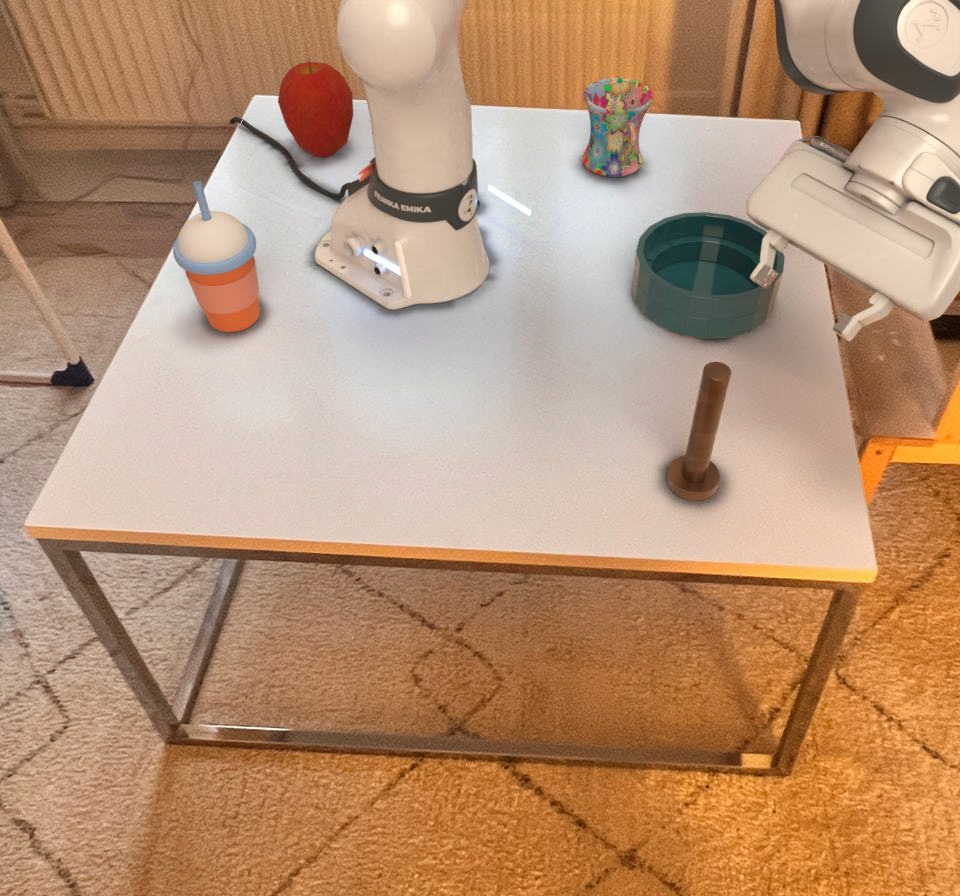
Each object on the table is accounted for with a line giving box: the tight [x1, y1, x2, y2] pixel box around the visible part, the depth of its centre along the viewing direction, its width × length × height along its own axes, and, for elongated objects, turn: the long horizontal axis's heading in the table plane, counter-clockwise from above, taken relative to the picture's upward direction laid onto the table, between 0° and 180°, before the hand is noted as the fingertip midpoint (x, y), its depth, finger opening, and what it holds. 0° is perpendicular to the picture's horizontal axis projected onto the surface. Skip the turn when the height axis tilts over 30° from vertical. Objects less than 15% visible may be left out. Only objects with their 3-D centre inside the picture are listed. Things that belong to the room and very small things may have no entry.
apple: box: [277, 58, 354, 159], centre depth 131 cm, size 10×10×14 cm
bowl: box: [631, 211, 786, 340], centre depth 109 cm, size 17×17×6 cm
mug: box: [581, 77, 654, 178], centre depth 127 cm, size 12×9×11 cm
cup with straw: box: [172, 180, 261, 333], centre depth 104 cm, size 9×9×18 cm
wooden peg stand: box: [666, 361, 732, 502], centre depth 86 cm, size 5×5×15 cm
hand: (797, 309), depth 84 cm, fingers open, 8 cm apart
